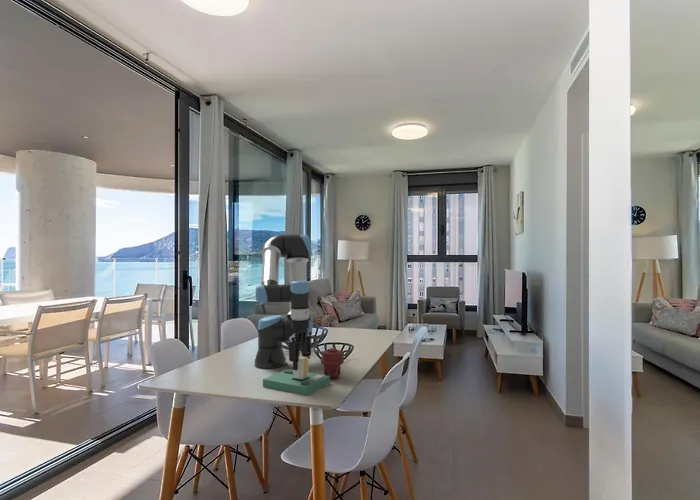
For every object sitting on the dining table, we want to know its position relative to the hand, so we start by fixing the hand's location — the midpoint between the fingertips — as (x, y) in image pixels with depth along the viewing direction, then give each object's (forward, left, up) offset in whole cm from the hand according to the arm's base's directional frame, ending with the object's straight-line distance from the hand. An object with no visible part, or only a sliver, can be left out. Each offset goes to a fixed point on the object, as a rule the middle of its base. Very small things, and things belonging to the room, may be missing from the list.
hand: (300, 376), depth 162 cm
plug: (0, 0, 0) cm, 0 cm away
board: (-2, 0, -4) cm, 5 cm away
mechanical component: (+6, +15, -4) cm, 17 cm away
